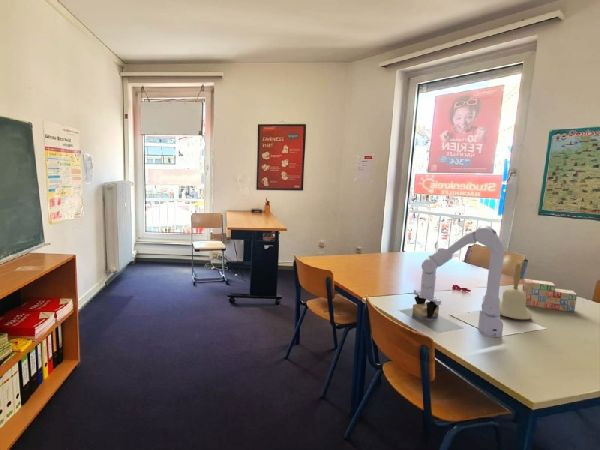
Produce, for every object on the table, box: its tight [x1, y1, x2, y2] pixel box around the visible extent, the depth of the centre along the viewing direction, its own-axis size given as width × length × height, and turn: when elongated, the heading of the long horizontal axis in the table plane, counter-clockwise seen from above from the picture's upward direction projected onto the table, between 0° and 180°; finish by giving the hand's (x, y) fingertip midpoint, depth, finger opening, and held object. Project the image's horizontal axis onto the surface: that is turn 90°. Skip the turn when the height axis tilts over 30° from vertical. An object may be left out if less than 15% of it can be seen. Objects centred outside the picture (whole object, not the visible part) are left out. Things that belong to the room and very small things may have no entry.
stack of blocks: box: [521, 278, 578, 313], centre depth 173 cm, size 21×6×12 cm, turn 65°
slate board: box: [398, 307, 464, 334], centre depth 150 cm, size 24×14×1 cm, turn 23°
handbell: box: [499, 263, 533, 320], centre depth 158 cm, size 15×15×25 cm
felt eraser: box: [412, 302, 440, 320], centre depth 152 cm, size 10×5×5 cm, turn 113°
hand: (425, 314), depth 153 cm, fingers closed on felt eraser, 5 cm apart
